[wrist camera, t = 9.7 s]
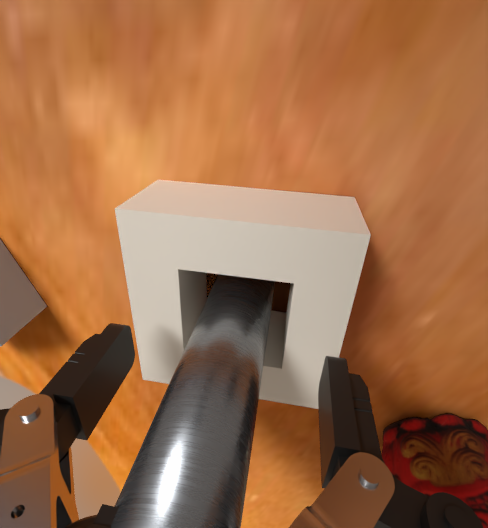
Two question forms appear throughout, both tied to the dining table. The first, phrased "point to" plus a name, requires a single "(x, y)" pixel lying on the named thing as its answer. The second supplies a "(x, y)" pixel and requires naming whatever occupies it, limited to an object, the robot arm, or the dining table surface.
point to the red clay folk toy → (441, 458)
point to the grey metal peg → (205, 418)
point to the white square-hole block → (243, 272)
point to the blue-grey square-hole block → (15, 297)
